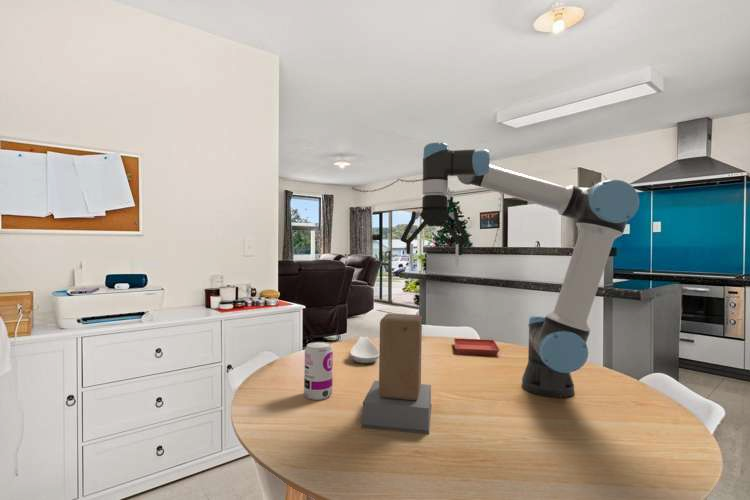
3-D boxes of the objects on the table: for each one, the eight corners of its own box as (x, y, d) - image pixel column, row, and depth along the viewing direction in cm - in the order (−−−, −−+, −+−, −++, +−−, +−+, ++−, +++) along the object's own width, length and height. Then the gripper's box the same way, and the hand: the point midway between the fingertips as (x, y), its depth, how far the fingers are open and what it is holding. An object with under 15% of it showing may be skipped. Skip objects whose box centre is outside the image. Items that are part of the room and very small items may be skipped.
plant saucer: (455, 355, 161) (455, 347, 161) (453, 344, 179) (453, 337, 179) (500, 358, 158) (500, 350, 158) (493, 347, 176) (493, 339, 176)
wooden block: (417, 402, 95) (419, 321, 95) (378, 398, 97) (379, 319, 97) (421, 388, 105) (422, 314, 105) (384, 384, 107) (385, 312, 107)
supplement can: (337, 393, 116) (337, 343, 116) (322, 402, 109) (323, 349, 109) (314, 388, 120) (315, 340, 120) (298, 397, 112) (299, 346, 112)
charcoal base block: (431, 406, 108) (431, 384, 108) (429, 433, 91) (429, 408, 91) (373, 401, 110) (373, 380, 110) (361, 427, 94) (361, 402, 94)
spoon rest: (381, 366, 144) (381, 347, 144) (350, 366, 143) (350, 347, 143) (375, 349, 168) (375, 333, 168) (348, 350, 166) (348, 333, 166)
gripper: (476, 197, 118) (475, 266, 119) (395, 197, 123) (394, 264, 123) (478, 193, 111) (477, 267, 111) (392, 194, 116) (391, 265, 116)
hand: (433, 265), depth 117 cm, fingers open, 13 cm apart
